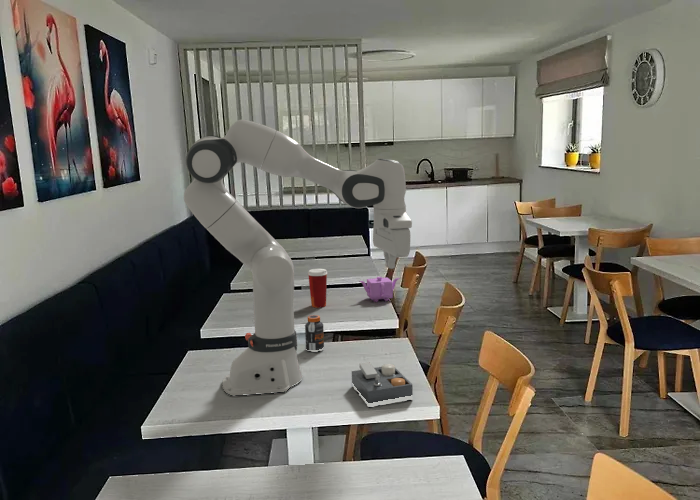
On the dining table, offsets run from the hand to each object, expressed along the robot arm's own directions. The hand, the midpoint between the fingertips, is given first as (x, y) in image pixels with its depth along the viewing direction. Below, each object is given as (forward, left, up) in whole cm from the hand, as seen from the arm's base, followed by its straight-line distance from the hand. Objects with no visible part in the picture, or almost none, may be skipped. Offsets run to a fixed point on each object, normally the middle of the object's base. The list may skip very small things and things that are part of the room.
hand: (390, 267), depth 161 cm
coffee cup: (-2, +78, -32) cm, 84 cm away
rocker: (-10, -8, -26) cm, 29 cm away
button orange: (-4, -15, -31) cm, 35 cm away
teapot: (+25, +77, -32) cm, 87 cm away
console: (-8, -11, -31) cm, 34 cm away
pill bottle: (-16, +28, -32) cm, 45 cm away
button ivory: (-4, -8, -29) cm, 31 cm away
